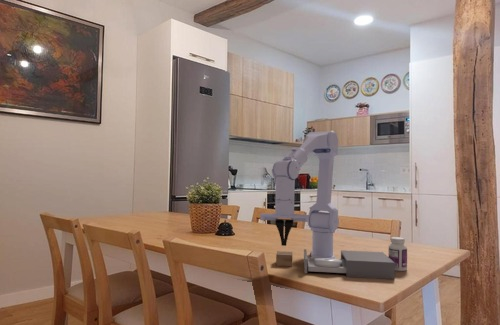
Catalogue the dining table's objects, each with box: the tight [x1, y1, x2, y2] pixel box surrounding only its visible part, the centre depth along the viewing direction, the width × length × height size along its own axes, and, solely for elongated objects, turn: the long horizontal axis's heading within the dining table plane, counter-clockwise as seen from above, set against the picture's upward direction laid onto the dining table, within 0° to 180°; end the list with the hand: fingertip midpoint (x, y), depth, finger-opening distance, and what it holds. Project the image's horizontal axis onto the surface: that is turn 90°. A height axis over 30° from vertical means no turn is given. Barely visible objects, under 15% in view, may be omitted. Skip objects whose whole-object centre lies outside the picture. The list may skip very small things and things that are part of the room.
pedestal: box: [275, 250, 293, 267], centre depth 117 cm, size 5×5×4 cm
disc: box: [314, 258, 342, 267], centre depth 109 cm, size 8×8×2 cm
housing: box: [340, 249, 396, 280], centre depth 110 cm, size 14×13×5 cm
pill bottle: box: [388, 236, 408, 272], centre depth 114 cm, size 5×5×10 cm
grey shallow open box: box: [303, 248, 347, 275], centre depth 112 cm, size 14×13×4 cm
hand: (283, 245), depth 110 cm, fingers closed
